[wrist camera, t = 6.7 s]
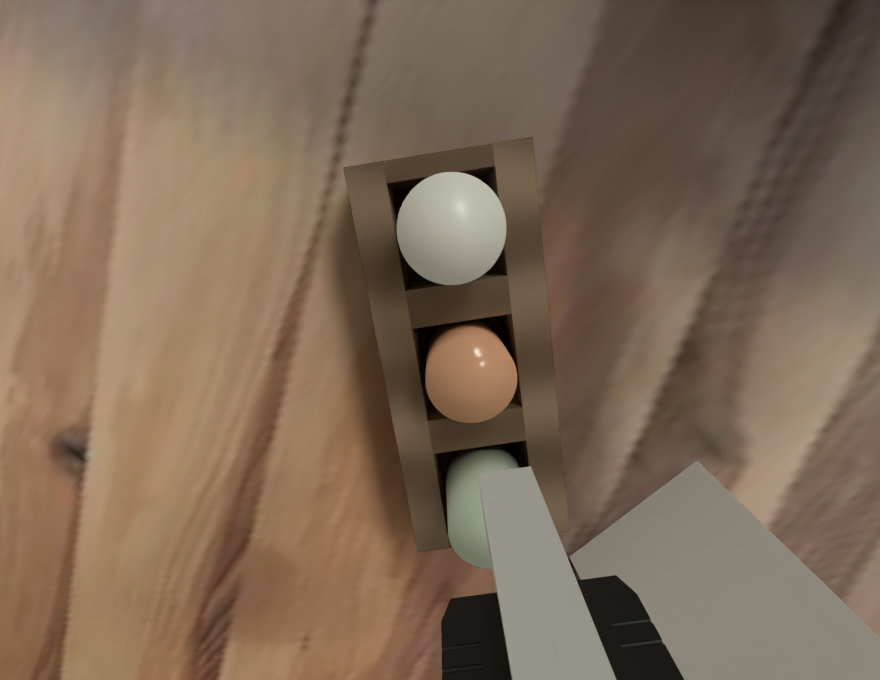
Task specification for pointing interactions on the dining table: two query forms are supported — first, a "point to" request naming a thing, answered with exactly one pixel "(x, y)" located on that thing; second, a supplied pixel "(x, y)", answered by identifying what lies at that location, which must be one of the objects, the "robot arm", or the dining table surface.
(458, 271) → the off-white button
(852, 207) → the dining table surface
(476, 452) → the pale green domed cylinder
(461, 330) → the peach rounded cylinder
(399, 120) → the dining table surface
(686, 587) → the milk
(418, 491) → the wooden compartment tray
